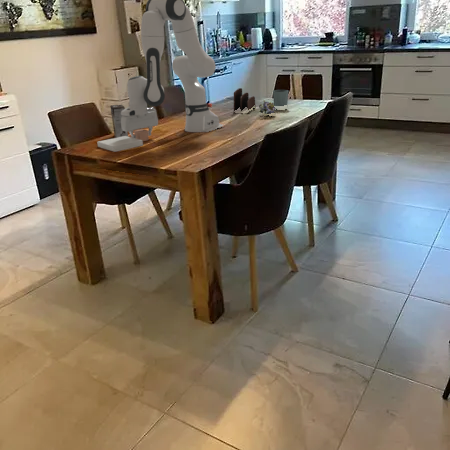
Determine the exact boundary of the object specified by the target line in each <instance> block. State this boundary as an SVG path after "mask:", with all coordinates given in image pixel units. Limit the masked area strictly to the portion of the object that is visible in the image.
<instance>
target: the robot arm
mask: <svg viewBox="0 0 450 450" xmlns="http://www.w3.org/2000/svg"><path fill="white" fill-rule="evenodd" d="M168 21H170V23H171V27H172V31H173V34H174V35H173V36H174V37H175V43H176V45H177V47H178V49H179V50H181V51H182V52H183V53H184V54H185V55H179V56H176V57H175V58H174V59H173V61H172V65H171V67H172V70H173V73H174V74H175V75H176V76H177V78H179V80H180V82H181V84H182V87H183V91H184V98H185V104H184V110H185V127H184V131H185V132H189V133H209V131H210V132H212V130H213V131H215V129H216V130H218V129H217V128H219V129H221V128H220V127H222V126H224V124H221V123H220V119H219V116H218V115H217V114H215V113H214V112H213V111H211V110H210V108H212V107H213V104H212V103H207V100H206V99H207V96H206V88H205V86H203V85H202V84H201V83H200V82H199V79H198V78H200V79H201V78H208V77H211V76H213V75H214V73H215V71H216V61H215V60H214V59H213V58H212V57H211V56H210V55H208V53H207V52H206V51H205V49H204V48H203V47H202V44H201V43H200V40H199V38H198V33H197V30H196V26H195V22H194V19H193V16H192V12H191V10H190V9H189V7H188V6H187V5H186V4H185V1H184V0H147V2H146V5H145V12H144V13H143V14H142V16H141V24H140V41H141V47H142V52H143V55H144V59H145V62H146V63H145V64H146V78H145V77H144V76H142V75H135V76H132V77H130V78H129V79H128V80H127V83H126V88H127V89H126V90H127V91H126V92H127V97H128V100H129V102H128V106H127V107H125V109H124V110H122V111H121V115H123V116H122V117H121V127H122V130H123V131H126V132H127V131H128V134H129V135H130V137H131V138H135V139H136V135H135V134H134V131H137V130H142V129H146V128H148V130H147V131H148V137H149V136H152V132H153V128H154V127H155V126H158V125H159V119H158V114H157V109H156V108H154V107H158V106H161V105H162V104H163V103H164V101H165V96H166V95H165V89H164V87H163V85H162V84H161V61H162V60H161V59H162V56H163V54H164V48H165V23H166V22H168ZM148 105H149V106H151V107H148ZM222 128H223V127H222Z"/></svg>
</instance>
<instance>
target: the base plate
mask: <svg viewBox="0 0 450 450" xmlns="http://www.w3.org/2000/svg"><path fill="white" fill-rule="evenodd" d="M96 143H97V147H98V148H101V149H104V150H107V151H111V152H120V151H125V150H129V149H133V148H137V147H143V146H144V141H142V140H139V139H135V138H132V137H131V136H129V135H128V136H122V137H117V138H116V137H114V138H108V139H104V140H99V141H97V142H96Z"/></svg>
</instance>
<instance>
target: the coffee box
mask: <svg viewBox="0 0 450 450" xmlns="http://www.w3.org/2000/svg"><path fill="white" fill-rule="evenodd" d="M109 106H110V113H111V120H112V126H113V128H112V129H113V134H114V138H117V137H122V136H128V137H129V131H127V132H126V131H123V130H122V127H121V117H122V116H123V115H121V111H122V110H124V109H126V107H125V106H124V105H123V104H112V105H109Z"/></svg>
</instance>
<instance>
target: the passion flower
mask: <svg viewBox="0 0 450 450" xmlns="http://www.w3.org/2000/svg"><path fill="white" fill-rule="evenodd" d="M262 102H263V104H261V103H260V104H259V106H258V108H259V111H258V113H259V112H260V114H261V113H262V114H266V115H267V114H271V113H274V112H276V110H275V109H276V108H275V107H274V101H273V102H271V101H266V100H265V99H263V101H262Z"/></svg>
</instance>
